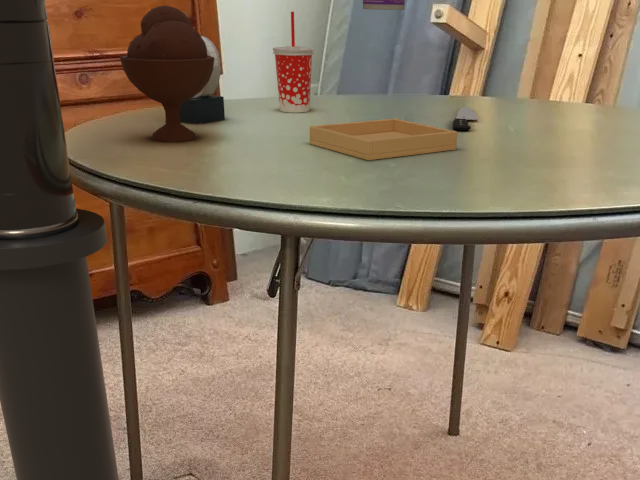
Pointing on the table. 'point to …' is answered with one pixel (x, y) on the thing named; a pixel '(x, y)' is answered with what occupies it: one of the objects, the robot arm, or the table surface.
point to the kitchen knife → (464, 119)
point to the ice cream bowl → (168, 66)
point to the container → (384, 4)
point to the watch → (205, 96)
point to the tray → (383, 138)
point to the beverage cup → (293, 75)
